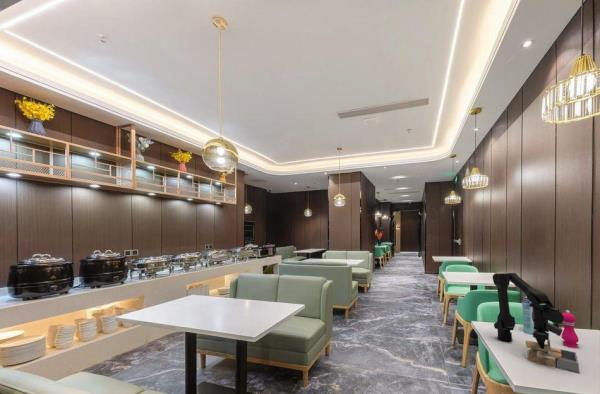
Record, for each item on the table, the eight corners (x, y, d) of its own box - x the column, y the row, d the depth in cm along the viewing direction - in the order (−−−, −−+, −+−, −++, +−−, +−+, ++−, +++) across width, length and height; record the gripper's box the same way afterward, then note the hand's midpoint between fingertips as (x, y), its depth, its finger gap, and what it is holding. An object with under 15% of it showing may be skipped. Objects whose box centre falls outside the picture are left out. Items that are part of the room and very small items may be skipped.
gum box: (538, 327, 194) (536, 293, 196) (547, 330, 190) (545, 294, 192) (523, 332, 186) (520, 296, 188) (532, 335, 181) (529, 298, 183)
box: (557, 367, 140) (556, 358, 141) (556, 356, 152) (555, 348, 152) (579, 373, 135) (578, 363, 136) (576, 361, 147) (575, 352, 147)
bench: (527, 360, 148) (527, 352, 149) (528, 351, 159) (528, 343, 159) (556, 367, 141) (555, 358, 141) (555, 357, 152) (554, 349, 152)
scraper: (525, 350, 150) (524, 342, 150) (526, 343, 159) (526, 335, 159) (550, 356, 143) (549, 347, 144) (550, 347, 152) (549, 340, 153)
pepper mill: (582, 349, 161) (579, 312, 163) (567, 348, 162) (564, 311, 164) (573, 343, 168) (570, 308, 170) (559, 342, 169) (556, 308, 171)
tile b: (550, 352, 149) (550, 349, 149) (550, 349, 152) (550, 347, 152) (561, 354, 146) (561, 352, 146) (560, 351, 149) (560, 349, 149)
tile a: (550, 356, 144) (550, 353, 144) (550, 353, 147) (550, 351, 147) (561, 358, 141) (561, 356, 141) (561, 356, 144) (561, 353, 144)
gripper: (561, 325, 139) (563, 359, 138) (559, 316, 153) (562, 346, 152) (531, 320, 146) (534, 352, 145) (533, 311, 160) (535, 340, 159)
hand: (542, 347), depth 150 cm, fingers closed on scraper, 2 cm apart
